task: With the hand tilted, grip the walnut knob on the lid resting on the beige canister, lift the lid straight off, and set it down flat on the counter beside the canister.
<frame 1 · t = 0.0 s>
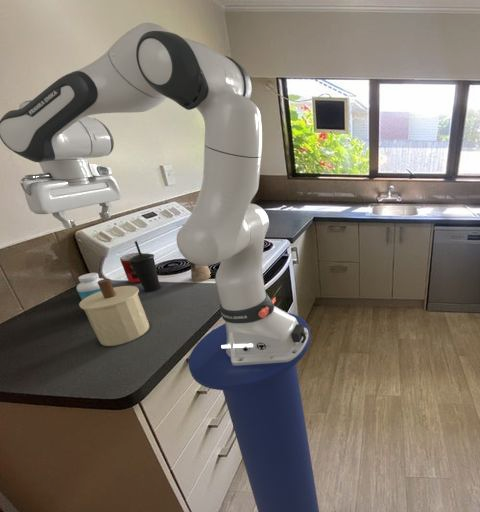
hand: (89, 222, 80), 34 cm above the countertop, tool pointing down, fingers open, 8 cm apart
shaker lid: (110, 297, 83), point 12 cm above the countertop, touching beige canister
beige canister: (125, 333, 88), on the countertop
pill bottle: (103, 310, 100), on the countertop
canned food: (140, 280, 122), on the countertop
figurine: (202, 278, 123), on the countertop
drinking cup: (152, 289, 114), on the countertop
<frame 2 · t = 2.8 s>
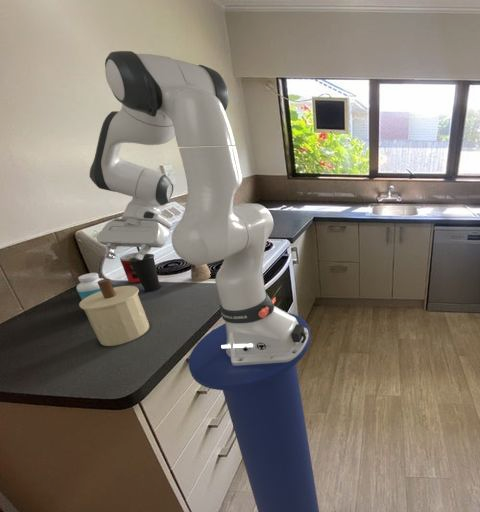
hand: (123, 258, 86), 22 cm above the countertop, tool tilted 45°, fingers open, 8 cm apart
nothing on the countertop moved.
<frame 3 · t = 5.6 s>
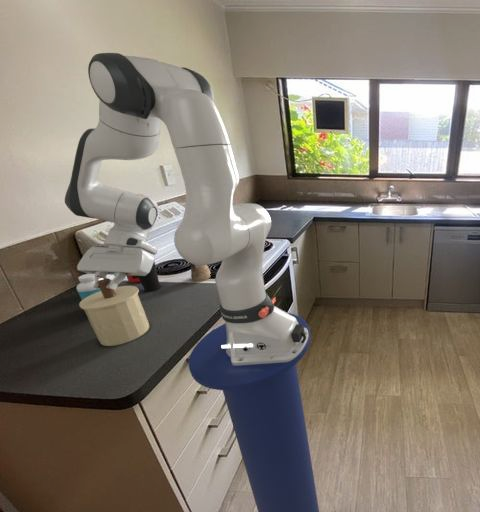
hand: (104, 288, 81), 16 cm above the countertop, tool tilted 45°, fingers closed on shaker lid, 2 cm apart
shaker lid: (110, 297, 83), point 13 cm above the countertop, touching gripper, beige canister
everything else where it was.
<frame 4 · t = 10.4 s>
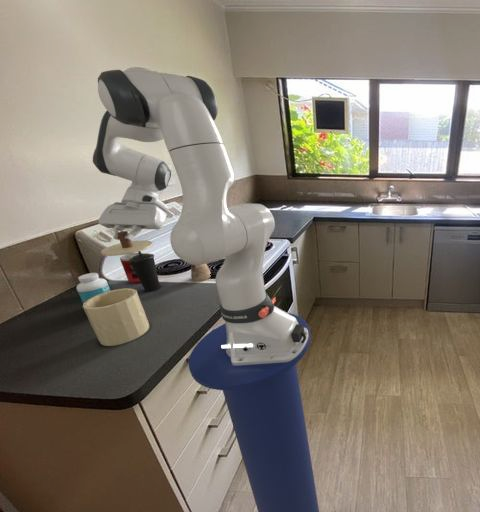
hand: (122, 239, 92), 25 cm above the countertop, tool tilted 45°, fingers closed on shaker lid, 2 cm apart
shaker lid: (128, 248, 94), point 22 cm above the countertop, touching gripper
everything else where it was.
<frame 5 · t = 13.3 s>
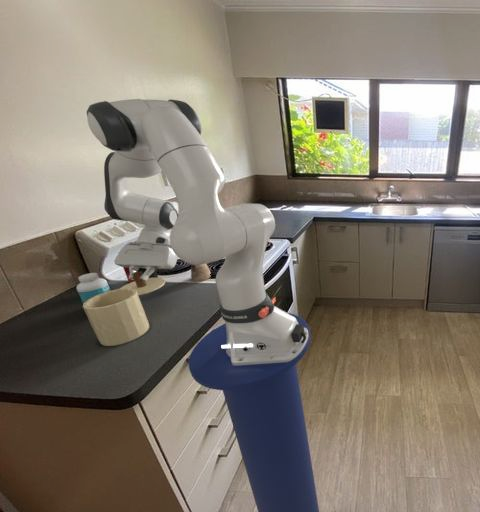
hand: (137, 279, 97), 11 cm above the countertop, tool tilted 45°, fingers closed on shaker lid, 2 cm apart
shaker lid: (142, 287, 99), point 8 cm above the countertop, touching gripper
everything else where it was.
when the fingers open (4 cm above the countertop, at t = 15.2 s): shaker lid stays where it is, point 1 cm above the countertop.
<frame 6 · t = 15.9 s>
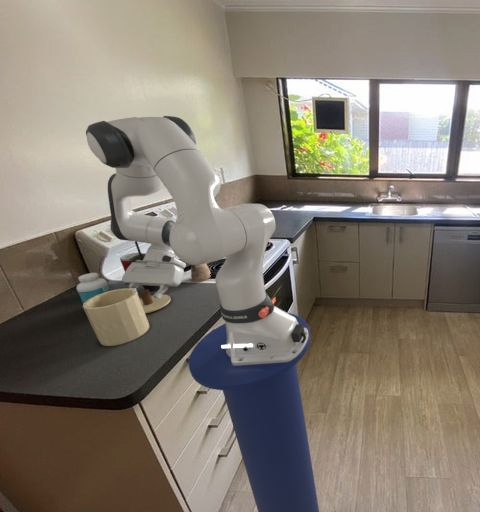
hand: (144, 297, 100), 4 cm above the countertop, tool tilted 45°, fingers open, 8 cm apart
shaker lid: (149, 304, 102), point 1 cm above the countertop
everything else where it was.
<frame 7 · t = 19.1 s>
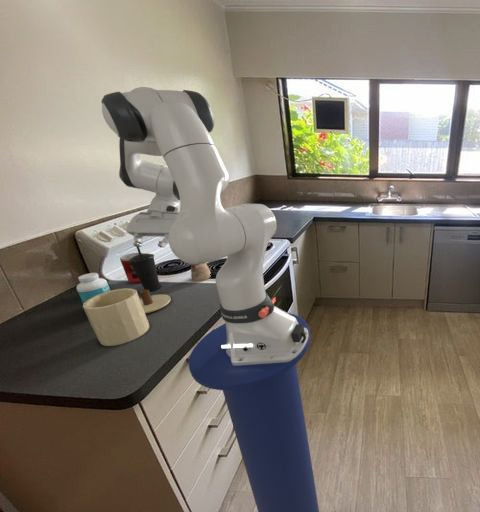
hand: (148, 246, 100), 20 cm above the countertop, tool tilted 45°, fingers open, 8 cm apart
nothing on the countertop moved.
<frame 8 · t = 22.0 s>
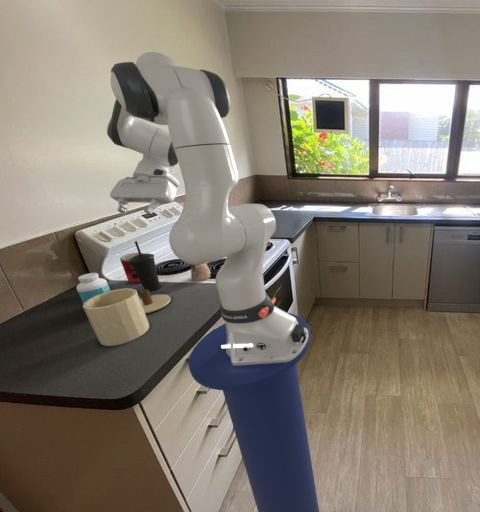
hand: (134, 212, 92), 33 cm above the countertop, tool tilted 45°, fingers open, 8 cm apart
nothing on the countertop moved.
at the end: shaker lid inside the target area (0.1 cm from its centre), point 0.6 cm above the countertop; shaker lid tilted 0°; the gripper is holding nothing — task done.
